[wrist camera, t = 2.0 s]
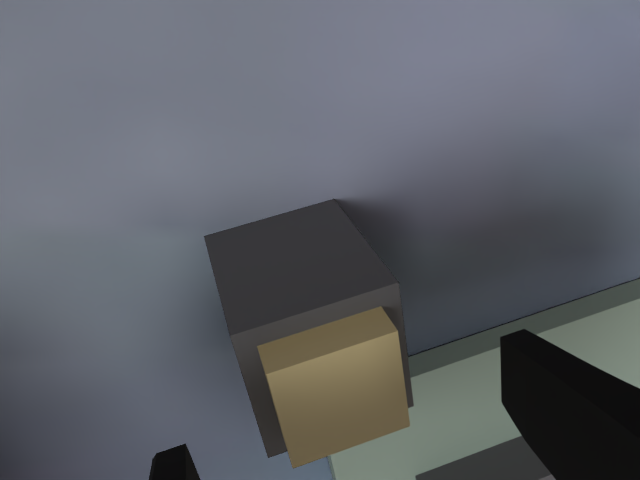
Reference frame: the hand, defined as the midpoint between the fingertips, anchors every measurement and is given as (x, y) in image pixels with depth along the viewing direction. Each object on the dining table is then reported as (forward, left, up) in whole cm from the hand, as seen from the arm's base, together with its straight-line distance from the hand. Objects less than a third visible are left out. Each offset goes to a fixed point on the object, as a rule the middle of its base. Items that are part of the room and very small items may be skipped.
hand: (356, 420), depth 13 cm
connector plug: (0, 0, -7) cm, 7 cm away
